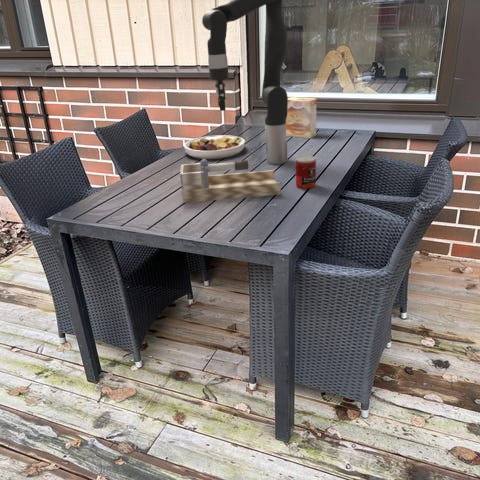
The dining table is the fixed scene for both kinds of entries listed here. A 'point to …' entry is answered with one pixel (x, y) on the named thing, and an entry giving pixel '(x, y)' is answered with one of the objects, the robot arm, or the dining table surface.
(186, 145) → the bowl
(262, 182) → the game board
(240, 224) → the dining table surface
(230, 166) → the rod
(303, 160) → the canned food
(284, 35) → the robot arm
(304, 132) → the coffeecake box
